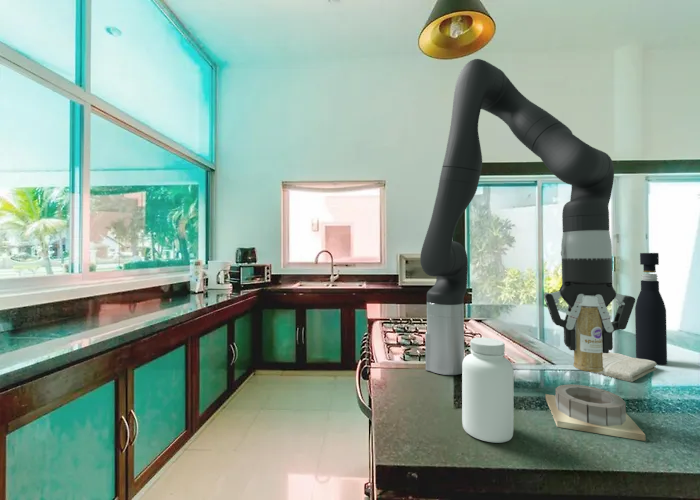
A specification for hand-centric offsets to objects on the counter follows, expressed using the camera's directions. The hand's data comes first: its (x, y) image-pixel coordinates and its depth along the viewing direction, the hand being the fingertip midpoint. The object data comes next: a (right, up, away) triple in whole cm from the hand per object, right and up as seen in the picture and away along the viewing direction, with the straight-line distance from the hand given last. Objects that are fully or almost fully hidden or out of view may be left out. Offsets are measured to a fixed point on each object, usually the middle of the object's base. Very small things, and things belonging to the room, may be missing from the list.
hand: (587, 350), depth 61 cm
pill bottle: (-20, -12, -5) cm, 24 cm away
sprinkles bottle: (0, -3, 0) cm, 3 cm away
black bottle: (+40, -13, +32) cm, 53 cm away
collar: (0, -12, 0) cm, 12 cm away
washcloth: (+26, -13, +26) cm, 39 cm away
